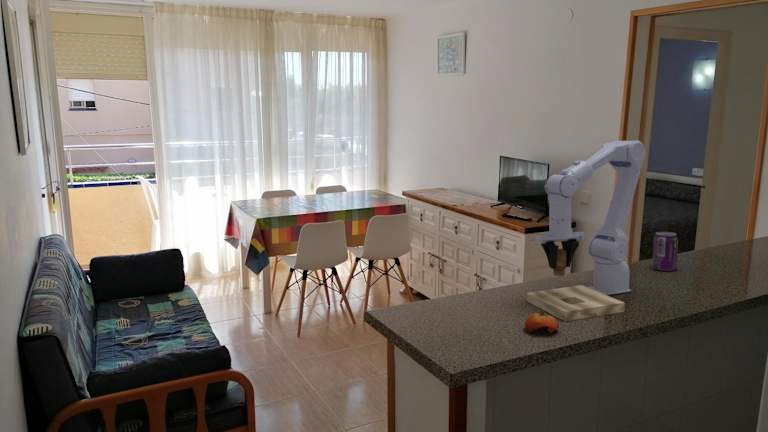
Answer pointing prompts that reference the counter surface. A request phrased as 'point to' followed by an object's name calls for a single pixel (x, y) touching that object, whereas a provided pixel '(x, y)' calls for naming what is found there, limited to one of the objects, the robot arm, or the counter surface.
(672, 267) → the beverage can
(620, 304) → the board
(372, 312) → the counter surface
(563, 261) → the peg
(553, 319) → the tomato
